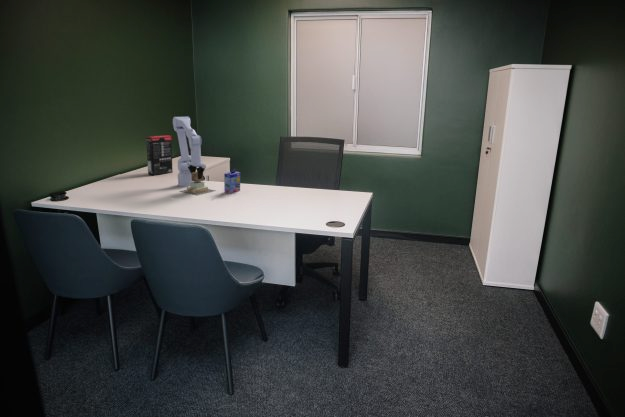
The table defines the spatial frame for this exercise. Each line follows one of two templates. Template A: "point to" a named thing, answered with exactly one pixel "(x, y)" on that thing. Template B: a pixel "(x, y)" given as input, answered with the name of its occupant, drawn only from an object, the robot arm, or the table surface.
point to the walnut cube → (195, 177)
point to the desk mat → (197, 193)
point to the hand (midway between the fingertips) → (196, 178)
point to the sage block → (196, 184)
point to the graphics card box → (159, 154)
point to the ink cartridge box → (232, 182)
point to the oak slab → (197, 189)
